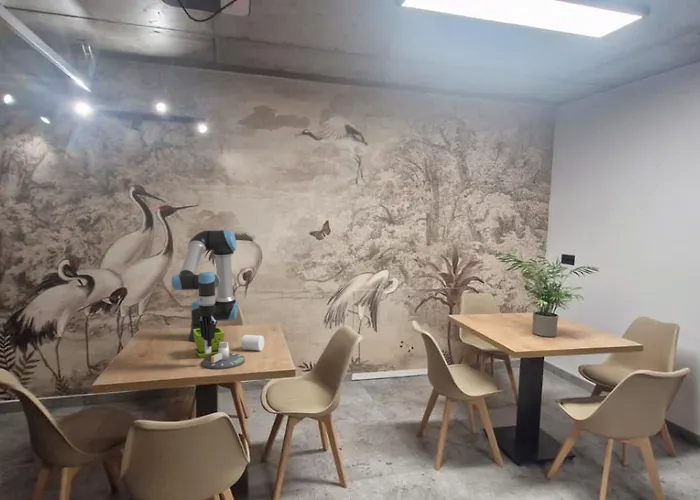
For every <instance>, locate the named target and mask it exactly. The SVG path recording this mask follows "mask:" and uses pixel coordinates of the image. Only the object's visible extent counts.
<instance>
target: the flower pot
mask: <svg viewBox="0 0 700 500" xmlns="http://www.w3.org/2000/svg"><path fill="white" fill-rule="evenodd" d="M198 334H199V335H198ZM193 335H194V340H195V342H194V343H195V346H196V348H195V352H196V353H197V355H198V358H203V359H204V358H207V357H209V356H213V355H216V354H218V347H219V342H224V339H225V338H224V337H225V332H224V330H223V329H222V328H221V327H219V326H216V330H215V337H214V339H212V340H211V353H207V354H206V353H205V345H204V339H203V337H201V332H200V329H193Z"/></svg>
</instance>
